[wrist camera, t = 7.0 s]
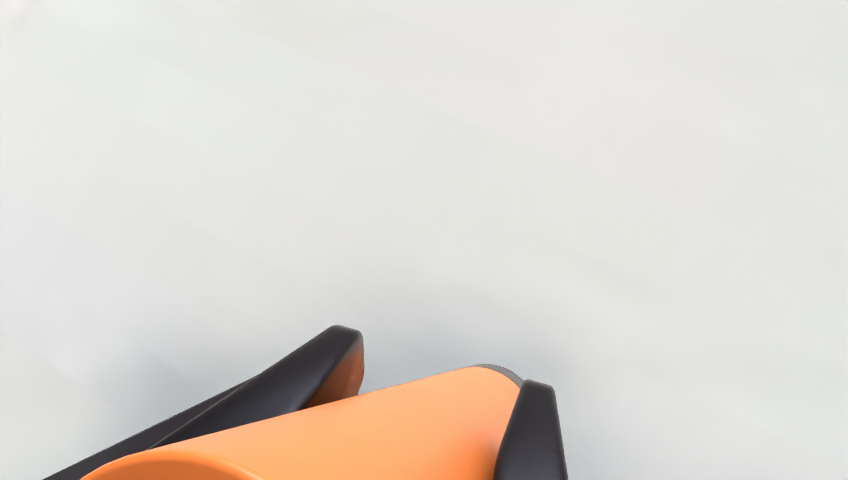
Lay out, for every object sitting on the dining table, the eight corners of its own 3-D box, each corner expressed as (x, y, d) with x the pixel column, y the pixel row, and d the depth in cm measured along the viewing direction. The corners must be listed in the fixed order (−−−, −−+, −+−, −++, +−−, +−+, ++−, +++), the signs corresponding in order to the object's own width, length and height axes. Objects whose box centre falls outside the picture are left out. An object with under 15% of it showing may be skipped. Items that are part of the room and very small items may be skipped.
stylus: (461, 488, 17) (57, 959, 4) (418, 389, 17) (-58, 541, 5) (558, 446, 16) (435, 816, 4) (511, 346, 17) (267, 384, 4)
